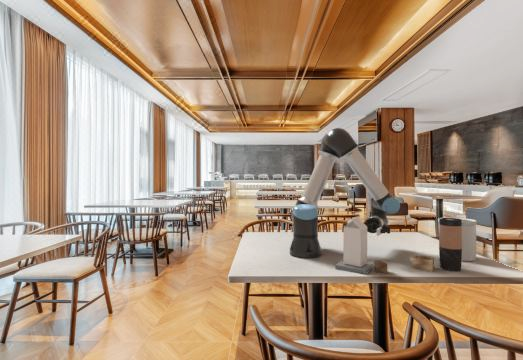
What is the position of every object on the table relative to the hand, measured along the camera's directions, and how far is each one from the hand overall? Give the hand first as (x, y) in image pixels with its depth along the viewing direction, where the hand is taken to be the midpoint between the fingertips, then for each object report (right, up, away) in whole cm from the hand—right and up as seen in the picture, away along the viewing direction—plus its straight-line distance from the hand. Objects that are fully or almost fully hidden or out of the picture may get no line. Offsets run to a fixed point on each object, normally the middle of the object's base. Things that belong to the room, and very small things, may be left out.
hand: (361, 230), depth 124 cm
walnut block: (+3, -14, -13) cm, 19 cm away
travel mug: (+33, -14, -9) cm, 37 cm away
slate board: (-5, -14, -8) cm, 16 cm away
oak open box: (+22, -14, -8) cm, 27 cm away
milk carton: (-5, -12, -8) cm, 15 cm away
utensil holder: (+47, -14, +8) cm, 49 cm away
